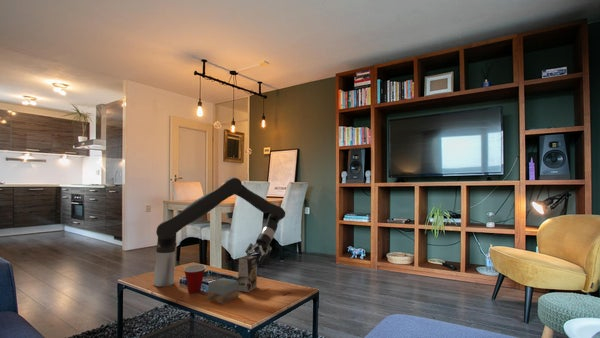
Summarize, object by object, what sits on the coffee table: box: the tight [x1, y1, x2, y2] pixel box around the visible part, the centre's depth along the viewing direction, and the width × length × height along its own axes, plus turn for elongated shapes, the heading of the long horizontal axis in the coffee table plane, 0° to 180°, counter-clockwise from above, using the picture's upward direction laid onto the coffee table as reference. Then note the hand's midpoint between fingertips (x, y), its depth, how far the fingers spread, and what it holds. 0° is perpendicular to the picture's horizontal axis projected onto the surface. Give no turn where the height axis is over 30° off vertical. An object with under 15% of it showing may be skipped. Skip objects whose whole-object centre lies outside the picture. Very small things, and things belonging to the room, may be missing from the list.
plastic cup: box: [182, 263, 207, 294], centre depth 157 cm, size 11×11×12 cm
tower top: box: [207, 277, 238, 295], centre depth 148 cm, size 10×10×4 cm
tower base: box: [206, 289, 240, 305], centre depth 147 cm, size 10×10×4 cm
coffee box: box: [237, 255, 258, 293], centre depth 162 cm, size 9×6×16 cm
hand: (252, 261), depth 166 cm, fingers open, 8 cm apart
